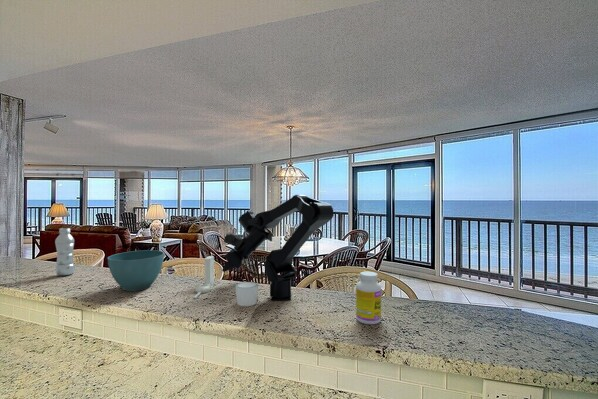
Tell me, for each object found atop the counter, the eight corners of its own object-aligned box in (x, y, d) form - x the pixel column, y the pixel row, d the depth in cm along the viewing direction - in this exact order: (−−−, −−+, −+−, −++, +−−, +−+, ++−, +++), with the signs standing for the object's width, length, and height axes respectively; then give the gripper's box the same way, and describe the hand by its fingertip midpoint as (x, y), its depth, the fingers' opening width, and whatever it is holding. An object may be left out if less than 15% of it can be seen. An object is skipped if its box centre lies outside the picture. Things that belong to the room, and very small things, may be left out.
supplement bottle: (376, 327, 77) (376, 278, 77) (352, 321, 80) (352, 274, 80) (384, 318, 82) (384, 272, 82) (361, 313, 86) (361, 269, 86)
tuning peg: (217, 282, 111) (217, 256, 110) (202, 298, 93) (202, 267, 93) (204, 282, 111) (204, 256, 110) (186, 298, 93) (186, 267, 93)
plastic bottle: (67, 277, 123) (66, 229, 123) (51, 277, 123) (50, 229, 123) (79, 273, 130) (78, 227, 129) (63, 273, 130) (63, 227, 129)
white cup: (246, 313, 86) (246, 289, 85) (230, 308, 90) (230, 285, 90) (262, 306, 91) (263, 284, 91) (247, 301, 95) (247, 280, 95)
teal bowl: (132, 299, 98) (132, 261, 97) (95, 292, 104) (95, 257, 104) (174, 283, 114) (174, 252, 114) (140, 278, 121) (140, 248, 121)
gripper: (242, 222, 117) (214, 250, 117) (231, 228, 98) (198, 261, 98) (262, 242, 117) (234, 270, 117) (255, 251, 98) (222, 284, 99)
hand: (222, 270), depth 108 cm, fingers closed
